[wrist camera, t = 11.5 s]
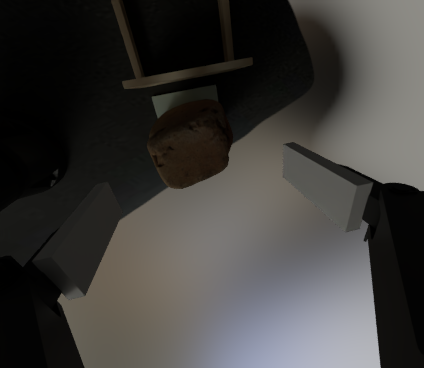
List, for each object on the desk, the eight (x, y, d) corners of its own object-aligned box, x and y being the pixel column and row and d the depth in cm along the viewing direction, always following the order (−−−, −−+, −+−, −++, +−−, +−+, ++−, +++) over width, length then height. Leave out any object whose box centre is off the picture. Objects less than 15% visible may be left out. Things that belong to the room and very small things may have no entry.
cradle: (142, 87, 33) (124, 88, 23) (103, -37, 26) (50, -120, 15) (231, 70, 34) (252, 64, 24) (218, -55, 27) (242, -146, 16)
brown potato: (174, 148, 39) (167, 200, 21) (156, 113, 35) (131, 141, 18) (222, 128, 38) (256, 164, 21) (209, 90, 35) (237, 95, 17)
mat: (168, 152, 40) (168, 153, 39) (152, 96, 34) (151, 96, 34) (223, 141, 40) (223, 142, 40) (215, 84, 35) (215, 84, 34)
